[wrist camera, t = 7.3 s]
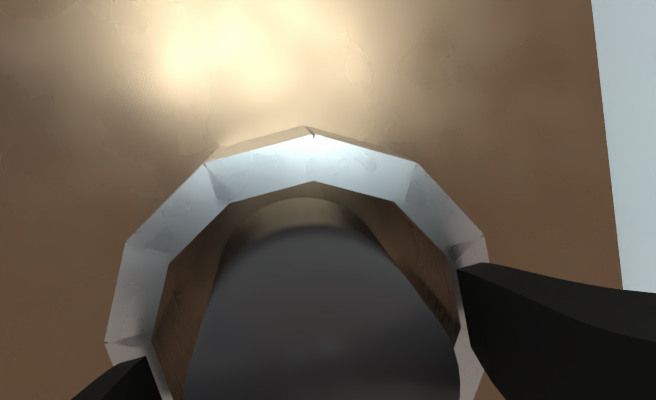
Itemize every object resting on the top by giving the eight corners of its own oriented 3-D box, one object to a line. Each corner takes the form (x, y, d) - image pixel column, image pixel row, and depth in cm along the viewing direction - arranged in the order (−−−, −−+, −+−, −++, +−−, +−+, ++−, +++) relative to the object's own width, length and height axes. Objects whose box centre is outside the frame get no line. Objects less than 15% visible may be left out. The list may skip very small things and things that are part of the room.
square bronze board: (99, 610, 17) (52, 752, 13) (-179, 28, 12) (-368, 0, 9) (626, 443, 18) (716, 532, 15) (556, -145, 14) (663, -234, 10)
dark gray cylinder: (243, 373, 15) (227, 552, 9) (196, 221, 14) (143, 315, 8) (399, 331, 15) (479, 477, 9) (365, 178, 14) (434, 239, 8)
